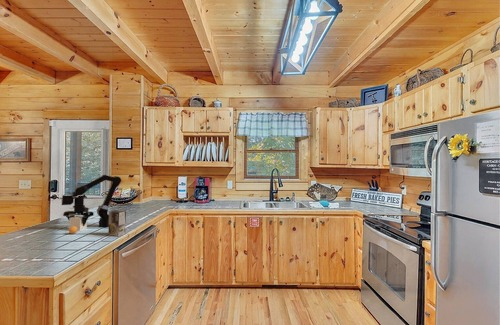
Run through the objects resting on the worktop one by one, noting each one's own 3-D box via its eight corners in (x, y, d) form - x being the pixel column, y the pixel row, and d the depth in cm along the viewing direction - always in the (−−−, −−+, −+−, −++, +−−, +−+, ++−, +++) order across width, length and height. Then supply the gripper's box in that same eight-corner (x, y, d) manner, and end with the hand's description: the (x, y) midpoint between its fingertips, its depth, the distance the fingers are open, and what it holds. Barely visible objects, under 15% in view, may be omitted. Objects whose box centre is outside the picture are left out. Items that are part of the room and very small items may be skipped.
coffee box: (125, 234, 182) (126, 211, 182) (118, 236, 176) (119, 212, 176) (115, 232, 185) (116, 209, 185) (107, 234, 179) (108, 211, 179)
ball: (79, 232, 181) (79, 225, 181) (74, 234, 176) (74, 227, 176) (71, 232, 181) (72, 225, 181) (66, 234, 176) (67, 227, 176)
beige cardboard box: (86, 228, 193) (87, 216, 193) (79, 230, 186) (80, 218, 186) (76, 227, 193) (76, 215, 193) (69, 230, 186) (69, 218, 186)
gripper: (98, 203, 198) (97, 223, 198) (73, 202, 198) (73, 222, 198) (89, 205, 186) (88, 227, 186) (63, 204, 187) (62, 226, 187)
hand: (78, 225), depth 190 cm, fingers closed on beige cardboard box, 8 cm apart
